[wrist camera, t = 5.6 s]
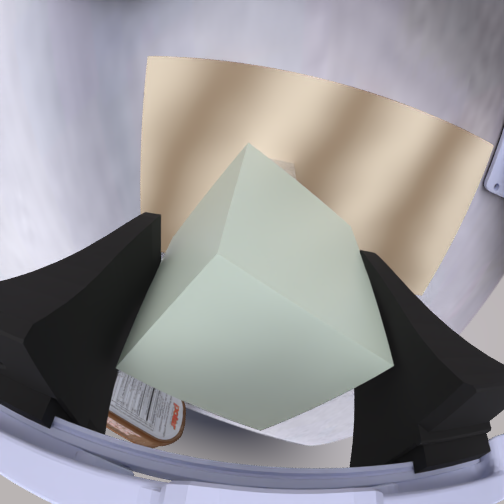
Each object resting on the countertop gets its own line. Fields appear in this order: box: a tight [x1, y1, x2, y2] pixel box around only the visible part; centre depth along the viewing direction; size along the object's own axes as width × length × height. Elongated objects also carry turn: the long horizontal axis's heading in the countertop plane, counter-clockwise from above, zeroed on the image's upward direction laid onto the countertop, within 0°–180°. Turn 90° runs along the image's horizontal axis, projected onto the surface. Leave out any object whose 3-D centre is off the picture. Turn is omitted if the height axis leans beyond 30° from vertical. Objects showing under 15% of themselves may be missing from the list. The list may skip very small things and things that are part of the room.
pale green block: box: [116, 143, 394, 431], centre depth 10 cm, size 5×5×7 cm
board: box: [140, 56, 494, 296], centre depth 17 cm, size 20×12×1 cm, turn 81°
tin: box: [106, 370, 186, 448], centre depth 26 cm, size 15×3×8 cm, turn 33°
